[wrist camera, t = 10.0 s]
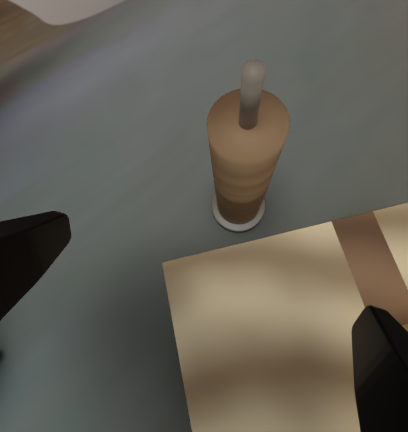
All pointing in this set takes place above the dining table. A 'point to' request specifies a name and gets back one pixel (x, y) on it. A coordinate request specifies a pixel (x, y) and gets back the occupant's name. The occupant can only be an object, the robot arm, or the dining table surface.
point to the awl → (245, 148)
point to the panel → (284, 322)
